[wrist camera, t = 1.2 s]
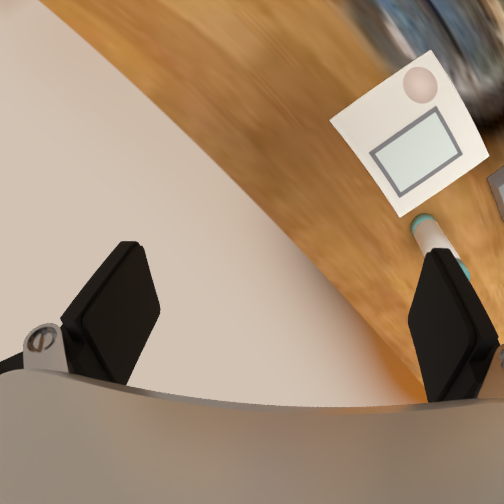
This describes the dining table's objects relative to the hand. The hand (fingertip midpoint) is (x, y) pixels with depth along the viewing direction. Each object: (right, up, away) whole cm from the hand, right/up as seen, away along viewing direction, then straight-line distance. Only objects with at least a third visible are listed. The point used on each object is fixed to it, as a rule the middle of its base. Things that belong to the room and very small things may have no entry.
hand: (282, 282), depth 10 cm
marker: (+20, +4, +25) cm, 32 cm away
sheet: (+17, +13, +19) cm, 29 cm away
